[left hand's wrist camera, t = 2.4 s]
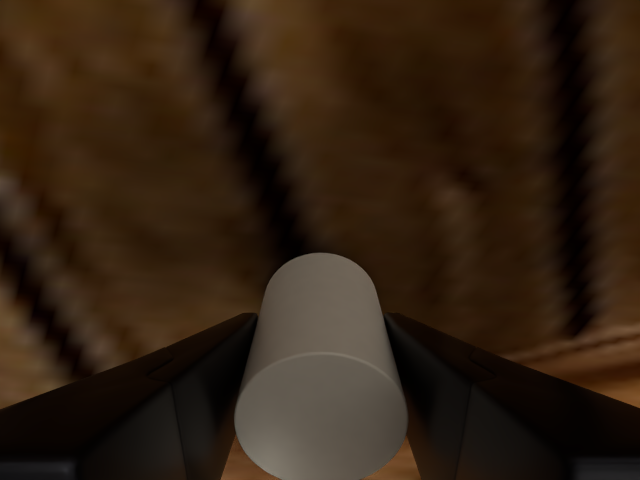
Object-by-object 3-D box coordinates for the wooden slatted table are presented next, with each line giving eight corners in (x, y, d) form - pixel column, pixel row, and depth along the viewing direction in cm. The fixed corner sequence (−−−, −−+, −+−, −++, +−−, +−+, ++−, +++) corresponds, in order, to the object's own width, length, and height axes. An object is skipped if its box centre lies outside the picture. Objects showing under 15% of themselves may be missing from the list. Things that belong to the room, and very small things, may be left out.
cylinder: (242, 314, 13) (200, 439, 8) (307, 229, 12) (300, 319, 7) (332, 368, 14) (338, 509, 9) (400, 293, 13) (446, 411, 8)
